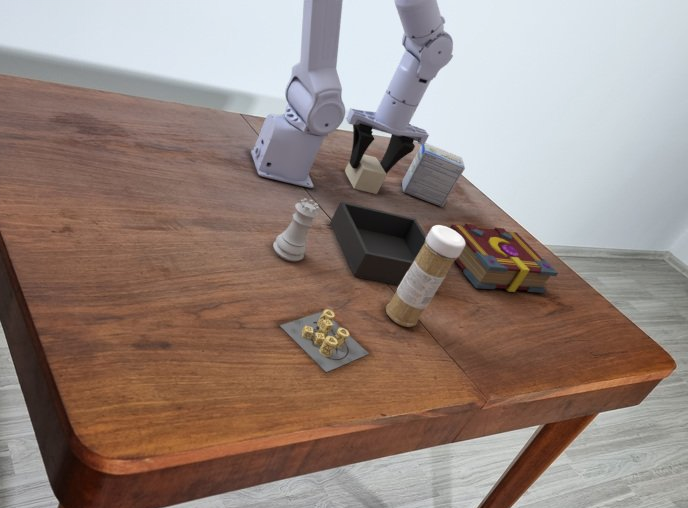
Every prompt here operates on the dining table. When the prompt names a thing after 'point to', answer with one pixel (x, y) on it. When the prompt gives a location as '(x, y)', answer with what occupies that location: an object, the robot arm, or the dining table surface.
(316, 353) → the dice set
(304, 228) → the rook chess piece
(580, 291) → the dining table surface
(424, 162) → the medicine box
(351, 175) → the small box
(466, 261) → the decorative book
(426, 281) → the sprinkles bottle
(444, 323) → the dining table surface
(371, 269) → the basket
